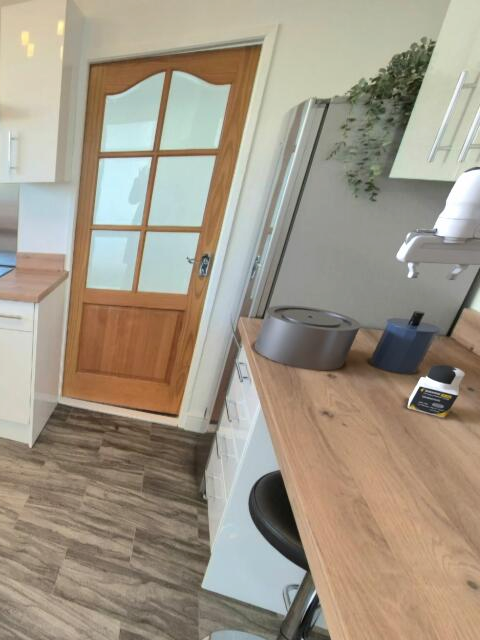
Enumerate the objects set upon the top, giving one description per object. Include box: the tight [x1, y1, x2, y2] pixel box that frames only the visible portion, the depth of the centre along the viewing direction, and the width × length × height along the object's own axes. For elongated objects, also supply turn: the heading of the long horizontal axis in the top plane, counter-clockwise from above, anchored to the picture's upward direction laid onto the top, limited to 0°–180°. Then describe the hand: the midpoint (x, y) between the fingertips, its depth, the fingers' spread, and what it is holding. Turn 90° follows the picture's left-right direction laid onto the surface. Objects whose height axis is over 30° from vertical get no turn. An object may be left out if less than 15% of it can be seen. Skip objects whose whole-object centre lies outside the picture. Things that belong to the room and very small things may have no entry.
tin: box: [369, 323, 438, 375], centre depth 135 cm, size 11×11×14 cm
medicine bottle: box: [407, 364, 465, 419], centre depth 111 cm, size 7×7×12 cm
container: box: [254, 305, 361, 371], centre depth 143 cm, size 25×25×13 cm
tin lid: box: [386, 310, 442, 334], centre depth 131 cm, size 12×12×5 cm
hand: (430, 278), depth 126 cm, fingers open, 8 cm apart
